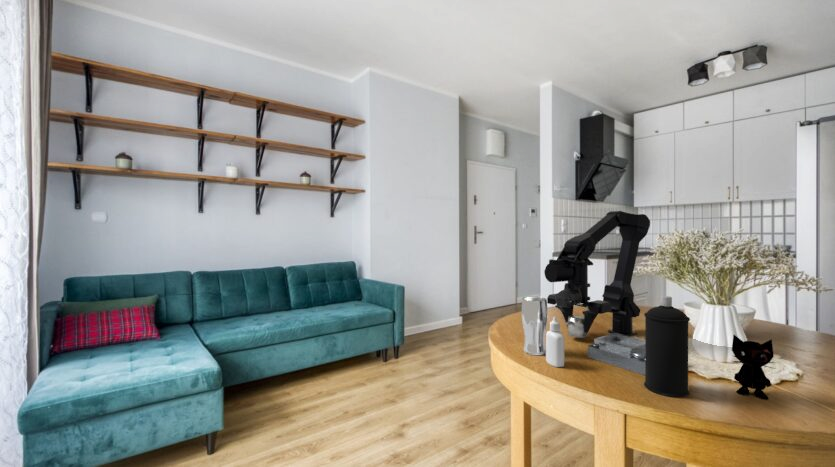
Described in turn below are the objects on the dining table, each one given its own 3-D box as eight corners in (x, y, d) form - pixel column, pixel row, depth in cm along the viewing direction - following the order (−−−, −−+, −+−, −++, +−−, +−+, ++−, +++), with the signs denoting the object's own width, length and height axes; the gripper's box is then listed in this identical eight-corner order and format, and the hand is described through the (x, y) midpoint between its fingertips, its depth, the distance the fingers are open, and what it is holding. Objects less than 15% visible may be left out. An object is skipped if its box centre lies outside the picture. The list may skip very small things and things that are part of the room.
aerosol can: (691, 401, 76) (691, 301, 75) (643, 392, 80) (643, 298, 80) (688, 386, 83) (688, 295, 82) (644, 378, 87) (644, 292, 87)
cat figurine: (729, 394, 78) (730, 337, 78) (729, 383, 84) (730, 330, 83) (776, 404, 74) (777, 344, 73) (773, 392, 79) (774, 335, 79)
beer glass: (544, 348, 109) (544, 296, 109) (550, 356, 102) (550, 301, 102) (519, 347, 110) (519, 296, 110) (524, 355, 103) (523, 301, 103)
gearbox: (616, 347, 109) (616, 332, 109) (678, 364, 95) (678, 346, 95) (587, 357, 101) (587, 340, 101) (650, 377, 88) (650, 357, 88)
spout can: (575, 331, 121) (575, 314, 121) (591, 335, 116) (591, 317, 116) (559, 335, 116) (558, 318, 116) (575, 340, 112) (574, 321, 112)
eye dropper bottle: (563, 360, 99) (563, 315, 99) (564, 368, 94) (564, 320, 93) (545, 359, 100) (545, 314, 100) (545, 366, 95) (545, 319, 95)
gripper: (535, 279, 120) (536, 327, 120) (590, 286, 104) (590, 342, 105) (558, 276, 126) (558, 322, 126) (612, 283, 110) (612, 336, 111)
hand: (577, 330), depth 117 cm, fingers closed on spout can, 5 cm apart
